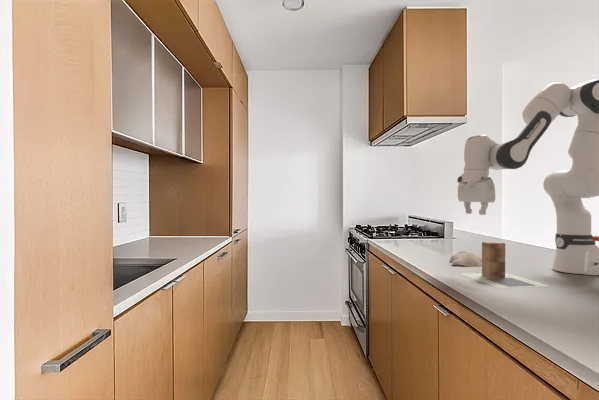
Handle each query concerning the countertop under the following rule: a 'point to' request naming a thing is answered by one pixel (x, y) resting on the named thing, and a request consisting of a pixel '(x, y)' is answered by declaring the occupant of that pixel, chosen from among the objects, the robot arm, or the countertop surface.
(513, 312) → the countertop surface
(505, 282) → the sage mat
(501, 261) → the walnut block
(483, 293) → the countertop surface
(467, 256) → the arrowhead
